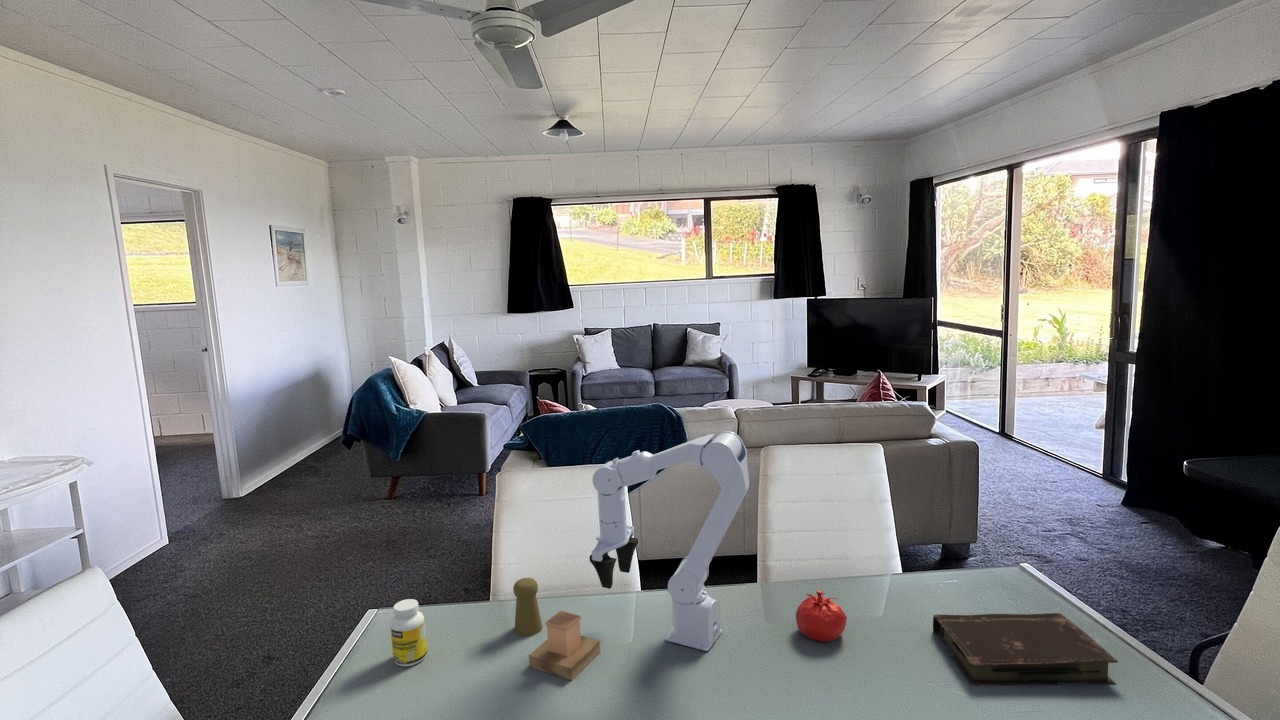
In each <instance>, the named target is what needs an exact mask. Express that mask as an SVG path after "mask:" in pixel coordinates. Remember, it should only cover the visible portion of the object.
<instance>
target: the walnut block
mask: <svg viewBox="0 0 1280 720" xmlns="http://www.w3.org/2000/svg"><path fill="white" fill-rule="evenodd" d="M600 653H601V641H600V640H598V639H594V638H591V637H588V636H583V635H581V645H580V646H579V647H578V648H577V649H576V650H574V651H573V652H572V653H571V654H570V655H569V656H568V657H567V656H563V655H560V654H557V653H554V652H551V651H548V638H547V639H546V640H545V641H544V642H543V643H541V644H540V645H539V646H538V647H536V649H534V650H533V651H532V652H531V653H529V654H528V660H529V661H528V662H529V668H531V669H535V670H538V671H541V672H544V673H546V674H547V673H548V674H550V675H554V676H557V677H560V678H562V679H567V680H569V681H573V680H574V679H575V678H576V677H577V676H578V675H579V674H580V673H582V671H583V670H584V669H585V668H586V667H587V666H588V665H590V663H591V662H592V661H593V660H595V659H596V657H597V656H598V655H599V654H600Z"/></svg>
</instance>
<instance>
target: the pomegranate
mask: <svg viewBox="0 0 1280 720" xmlns="http://www.w3.org/2000/svg"><path fill="white" fill-rule="evenodd" d="M815 591H816V592H815V593H816V596H815V595H813V594H810V593H809V594H808V593H806V594H805V595H806V596H807V597H806V598H805V599H803V600H802V602H801V603H800V604H799V605H798V607H797V608H796V612H795V622H796V627H797V629H798V631H799V632H800V633H801V634H802V635H804V636H806V637H807V638H809V639H811V640H814V641H818V642H822V643H826V642H832V641H834V640H836V639H838V638H839V637H840V636H842V635H843V633H844V631H845V629H846V625H847V619H848V618H847V614H846V613H845V612H844V611H843V609H842V608H841V606H840V605H839V604H837V603H836V602H834V601H832V600H831V599H836V600H838V599H839V598H838V597H834V596H833V597H824V595H825V592H822V591H821V590H820V589H816V590H815Z"/></svg>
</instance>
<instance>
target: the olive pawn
mask: <svg viewBox="0 0 1280 720" xmlns="http://www.w3.org/2000/svg"><path fill="white" fill-rule="evenodd" d="M512 589H513V595H514V596H515V597H516V600H515V618H514V633H515V634H516V635H518V636H520V637H531V636H534V635H537V634H539V633H540V632H541V631H542V629H543V628H544V627H543V621H542V617H541V612H540V608H539V602H538V599H537V593H538V590H539V586H538V582H537V580H535V578H533V577H523V578H520V579H518V580H516V582H515V583H514V585H513V588H512Z"/></svg>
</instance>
